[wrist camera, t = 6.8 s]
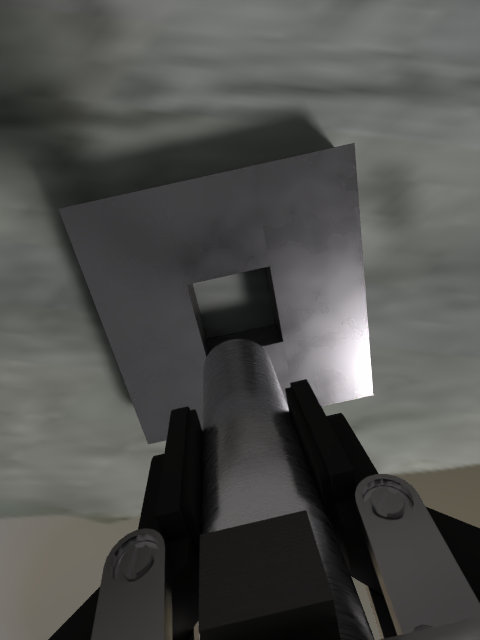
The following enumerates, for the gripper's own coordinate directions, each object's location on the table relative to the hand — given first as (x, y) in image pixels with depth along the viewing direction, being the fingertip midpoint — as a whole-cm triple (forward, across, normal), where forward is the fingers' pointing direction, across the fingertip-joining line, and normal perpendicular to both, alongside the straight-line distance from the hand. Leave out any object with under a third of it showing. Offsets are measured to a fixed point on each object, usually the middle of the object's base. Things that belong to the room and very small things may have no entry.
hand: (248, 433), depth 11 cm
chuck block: (+14, -1, 0) cm, 14 cm away
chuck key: (+4, 0, 0) cm, 4 cm away
